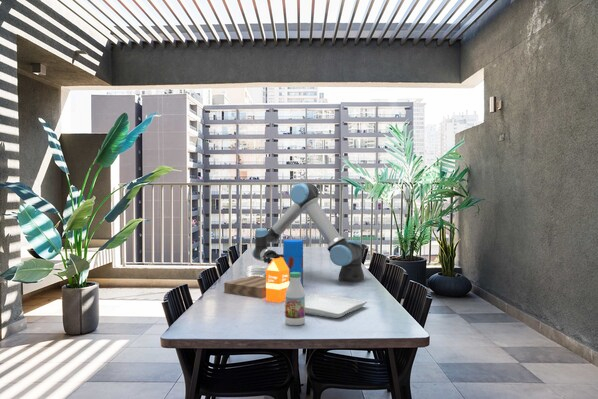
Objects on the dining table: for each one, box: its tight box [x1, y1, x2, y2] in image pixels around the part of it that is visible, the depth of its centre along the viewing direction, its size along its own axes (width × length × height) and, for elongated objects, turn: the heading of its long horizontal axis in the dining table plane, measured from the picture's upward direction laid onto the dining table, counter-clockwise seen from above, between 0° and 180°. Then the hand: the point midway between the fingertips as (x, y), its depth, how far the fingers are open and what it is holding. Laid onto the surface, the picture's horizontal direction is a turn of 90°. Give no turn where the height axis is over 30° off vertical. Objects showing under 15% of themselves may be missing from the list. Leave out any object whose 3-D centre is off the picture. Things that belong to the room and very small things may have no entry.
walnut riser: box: [223, 276, 266, 299], centre depth 245 cm, size 24×24×5 cm
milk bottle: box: [284, 272, 306, 326], centre depth 186 cm, size 8×8×20 cm
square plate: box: [305, 293, 368, 319], centre depth 207 cm, size 27×27×4 cm
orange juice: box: [265, 257, 289, 303], centre depth 226 cm, size 8×9×20 cm
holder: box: [245, 265, 269, 278], centre depth 292 cm, size 45×18×3 cm, turn 171°
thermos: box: [282, 239, 304, 288], centre depth 257 cm, size 11×11×25 cm
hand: (287, 260), depth 262 cm, fingers open, 13 cm apart
